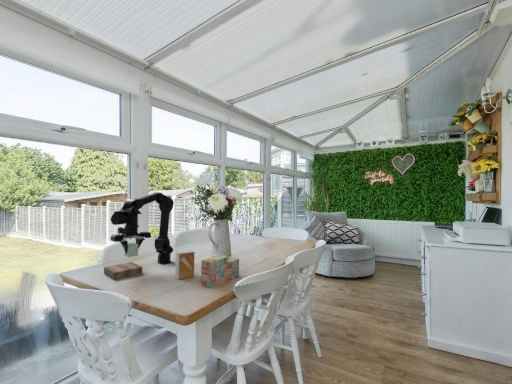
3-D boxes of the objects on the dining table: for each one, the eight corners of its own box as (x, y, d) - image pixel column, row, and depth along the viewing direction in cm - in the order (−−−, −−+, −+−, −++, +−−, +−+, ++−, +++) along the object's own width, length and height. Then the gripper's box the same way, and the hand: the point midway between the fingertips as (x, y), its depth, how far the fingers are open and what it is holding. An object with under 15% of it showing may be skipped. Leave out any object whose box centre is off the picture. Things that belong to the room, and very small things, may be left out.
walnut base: (131, 269, 146) (131, 262, 146) (142, 274, 137) (142, 267, 137) (103, 274, 136) (104, 266, 136) (113, 281, 127) (113, 272, 127)
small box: (178, 279, 128) (179, 253, 128) (174, 276, 133) (175, 251, 134) (194, 277, 133) (194, 251, 133) (190, 273, 138) (190, 249, 138)
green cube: (134, 254, 140) (134, 242, 140) (138, 255, 137) (138, 244, 137) (124, 255, 136) (124, 244, 136) (128, 257, 133) (128, 245, 133)
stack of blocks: (229, 274, 138) (230, 251, 138) (239, 276, 135) (239, 253, 135) (200, 286, 120) (201, 259, 121) (210, 289, 117) (211, 261, 117)
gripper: (142, 220, 149) (141, 247, 149) (106, 223, 135) (106, 253, 135) (151, 222, 142) (151, 250, 141) (115, 224, 128) (114, 256, 127)
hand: (131, 252), depth 136 cm, fingers closed on green cube, 5 cm apart
